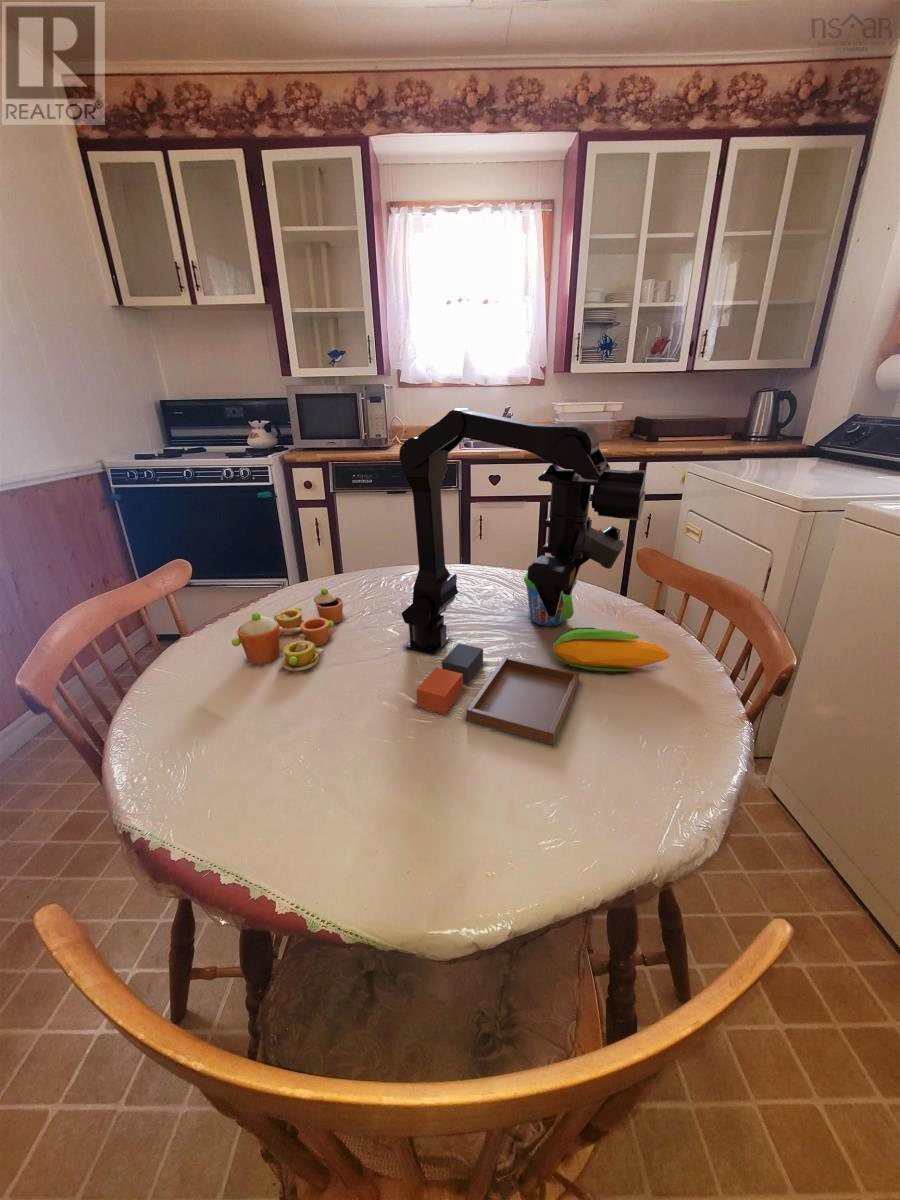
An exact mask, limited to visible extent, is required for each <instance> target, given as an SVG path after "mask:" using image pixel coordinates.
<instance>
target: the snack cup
mask: <svg viewBox="0 0 900 1200" xmlns="http://www.w3.org/2000/svg"><path fill="white" fill-rule="evenodd" d="M527 577H528V572H526V573H525V574H524V576H523V583H524V584H525V586H526V593H527V594H526V595H527V602H528V611H529V617H530V619H531V621H533V622H534V623H536V624H537V625H539V626H547V627H548V626H550V627H551V626H553V627H554V626H555V627H557V626H558V625H560V624H562V623H564V622H565V621H566V620H570V619H571V618H572V617H573V616H574V605H573V595H572V594H573V590H574V588H575V586H576V584H577V583H578V582H577V581H578V579H577V578H576V580H575V582H574V585H573V588H572V591H571V594H570V595H565V594H563V592H562V596H561V599H560V603H559V606H558V609H557V613H556V616H555V617H551V616H548V614H547V612H546V609H545V607H544V605H543V602H542V600H541V598H540V595H539V593H538V591H537V589H536V587H535V585H534V584H533V583H531V581H529V580H528V579H527Z"/></svg>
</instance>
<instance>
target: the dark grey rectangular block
mask: <svg viewBox="0 0 900 1200" xmlns="http://www.w3.org/2000/svg"><path fill="white" fill-rule="evenodd" d="M483 665H484V648H481V647H477V646H472V645H469V644H463V643H457V644H456V645H455V646H454V648H453V649H452V650H450V652H449V653H448V654H447V655H446V657H444V659H442V661H441V669H445V670H449V671H453V672H457V673H461V674H463V684H465V685H469V684H470V682H471V681H472V680H473V678H474V677H475V676H476V674H477V673H478V672H479V670H480V669H481V668H482V666H483Z"/></svg>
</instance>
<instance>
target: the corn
mask: <svg viewBox="0 0 900 1200" xmlns="http://www.w3.org/2000/svg"><path fill="white" fill-rule="evenodd" d="M639 638H640V636H639V635H637V634H634V633H632V632H631V633H630V632H626V631H623V630H616V629H606V628H597V627H575V628H571V629H567V630H566V631H564V632H562V633H561V634H559V635H558V637H557V638H556V639H555V640H554V641H553V647H552V649H553V654H554V655H555V657H556V658H557V659H558V660H559V661H561V662H563V663H564V664H567V665H569V666H571V667H574V668H578V669H583V670H589V671H600V672H601V671H602V672H630V670H629V669H628V668H640V667H646V666H649V665H653V664H655V663H660V662H663V661H666V660H668V659H669V658H670V656H671V653H670V652H669V651H668V650H666V649H665V648H663V647H662V646H660V645H658V644H656V643H652V642H648V641H644V640H639Z"/></svg>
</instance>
